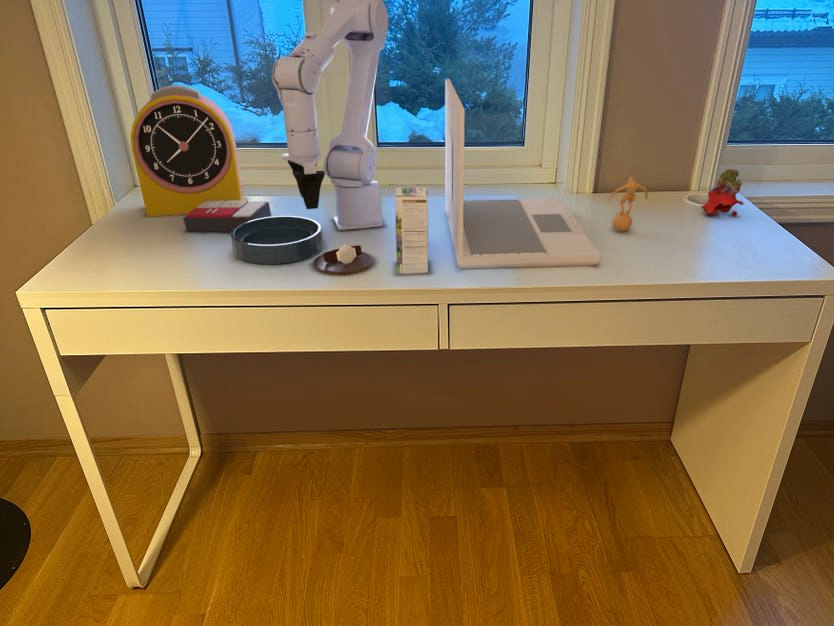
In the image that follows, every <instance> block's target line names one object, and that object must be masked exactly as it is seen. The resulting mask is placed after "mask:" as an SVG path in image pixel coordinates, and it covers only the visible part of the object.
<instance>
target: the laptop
mask: <svg viewBox="0 0 834 626" xmlns="http://www.w3.org/2000/svg"><path fill="white" fill-rule="evenodd" d="M444 83H445V84H444V135H445V138H444V140H445V141H444V143H445V145H444V151H445V153H444V154H445V155H444V159H445V160H444V161H445V162H444V163H445V168H444V170H445V171H444V172H445V173H444V175H445V179H444V180H445V183H444V185H445V188H444V189H445V191H444V192H445V193H444V194H445V195H444V197H445V204H444V207H445V213H446V216H447V222H448V226H449V232H450V235H451V240H452V246H453V250H454V254H455V255H454V256H455V259H456V264H457V267H458V268H459V269H461V270H479V269H481V270H482V269H512V268H513V269H514V268H549V267H550V268H551V267H552V268H554V267H556V268H557V267H586V266H589V267H590V266H591V267H592V266H594V265H597V264H599V263H600V258H601V254H600V253H599V251H598V249H597V248H596V247H595V245H594V244H593V242H591V240H590V239H589V237H588V236H587V234H586V233H585V231H584V230H583V229H582V227H581V226H580V225H579V223H578V221H577V220H576V219H575V218H574V216H573V214H572V213H571V212H570V210H569V209H568V208H567V206H566V205H565V203H564V201H563V200H562V199H561V198H559V197H558V198H555V197H554V198H503V199H502V198H501V199H499V198H496V199H464V191H465V189H464V188H465V187H464V186H465V185H464V182H465V181H464V179H465V177H464V176H465V107H464V105H463V103H462V101H461V100H460V98H459V95H458V93H457V91H456V89H455V87H454V85H453V83H452V81H451V79H450V78H448V77H447V78H446V79H445V81H444Z"/></svg>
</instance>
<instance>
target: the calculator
mask: <svg viewBox="0 0 834 626" xmlns="http://www.w3.org/2000/svg"><path fill="white" fill-rule="evenodd" d="M265 217H272V211H271V207H270V202H269V201H266V200H250V201H248V200H246V199H244V200H235V201H227V202H225V201H205V202H203V203H202V204H201V205H199V206H198V207H197V208H195V209H193V210H192V211H190V212H189V213H188V214H185V216H184V217H183V224H184V227H185V230H186V232H190V233H192V232H193V233H197V232H201V233H203V232H206V233H207V232H231V231H232V230H233V229H234V228H235V227H237V226H238V225H240V224H242V223H245V222H247V221H251V220H255V219H259V218H265Z"/></svg>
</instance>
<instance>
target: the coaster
mask: <svg viewBox="0 0 834 626" xmlns="http://www.w3.org/2000/svg"><path fill="white" fill-rule="evenodd" d="M373 263H374V261H373V256H371V255H370V254H368V253H366V252H364V251H362V254H361V255H359V256H356V257H354V259H353V260H352V261H351V262H350V263H343V262H341V261H334V262H328V263H326V262H325V261H324V257H323V253H322V254H320V255H318V256H317V257H315V258H314V259H313V267H314V269H315V270H316V271H318V272H320V273H322V274H325V275H326V274H327V275H331V276H346V275H353V274H358V273H361V272H364V271H366V270H368V269H369V268H370V267H372V265H373Z"/></svg>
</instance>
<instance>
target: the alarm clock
mask: <svg viewBox="0 0 834 626" xmlns="http://www.w3.org/2000/svg"><path fill="white" fill-rule="evenodd" d="M130 145H131V152H132V156H133V161H134V165H135V169H136V170H135V171H136V173H137V177H138V182H139V183H138V184H139V186H140V191H141V194H142V199H143V203H144V208H145V212H146V213H145V214H146V217H161V216H162V217H163V216H176V215H186V214H188V213H189V212H190V211H192V210H193V209H195V208H197V207H198V206H199V205H201V204H202V203H203V202H205V201H225V202H227V201H235V200H245V196H244V195H245V194H244V188H243V183H242V176H241V175H242V174H241V169H240V163H239V156H238V149H237V144H236V136H235V133H234V130H233V126H232V124H231V121H230V120H229V118H228V117H227V115H226V113H225V112H224V111H223V110H222V109H221V108H220V107H219V106H218V104H216V103H215V102H214V101H212V100H211V99H210V98H208V97H207V96H205V95H203V94H201V92H200V90H198V89H196V88H193V87H190V86H185V85H179V84H173V85H167V86H164V87H161V88H159V89H157V90H155V91H153V92H152V93H151V94H150V100H148V102H146V104H144V106H143V107H142V108H141V109H140V110H139V112H138V114H136V117H135V118H134V120H133V122H132V126H131V132H130Z"/></svg>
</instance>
